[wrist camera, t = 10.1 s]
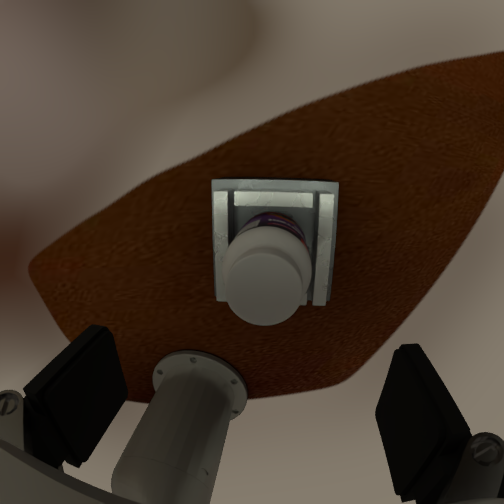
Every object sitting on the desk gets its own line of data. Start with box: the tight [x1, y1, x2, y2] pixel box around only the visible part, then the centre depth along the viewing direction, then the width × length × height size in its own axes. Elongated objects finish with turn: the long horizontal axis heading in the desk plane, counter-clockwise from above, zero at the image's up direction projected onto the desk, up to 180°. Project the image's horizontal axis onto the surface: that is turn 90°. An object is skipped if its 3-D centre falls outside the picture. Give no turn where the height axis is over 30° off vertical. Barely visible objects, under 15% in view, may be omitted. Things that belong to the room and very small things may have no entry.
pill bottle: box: [222, 212, 312, 326], centre depth 20 cm, size 5×5×10 cm
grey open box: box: [212, 177, 339, 306], centre depth 25 cm, size 10×10×8 cm
